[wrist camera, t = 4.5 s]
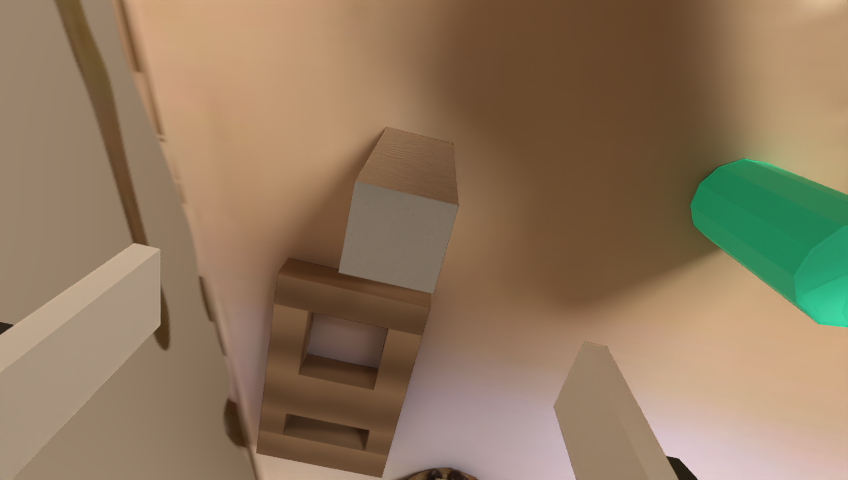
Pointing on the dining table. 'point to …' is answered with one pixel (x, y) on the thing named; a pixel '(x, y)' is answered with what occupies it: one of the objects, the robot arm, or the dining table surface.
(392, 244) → the square bit
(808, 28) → the dining table surface
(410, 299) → the socket block
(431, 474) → the bread roll
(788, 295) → the candle
